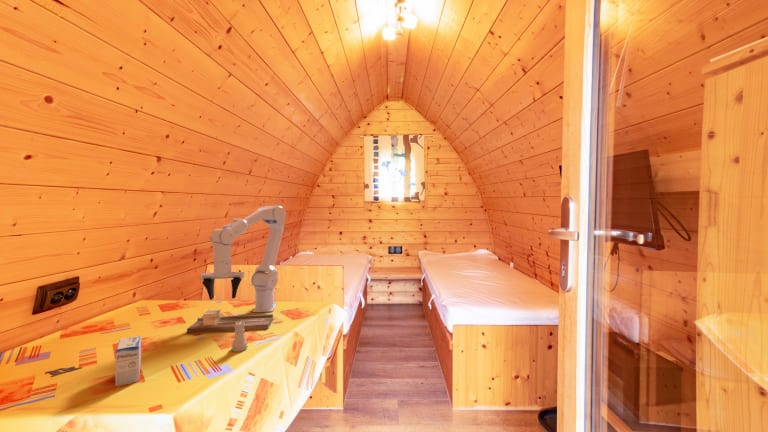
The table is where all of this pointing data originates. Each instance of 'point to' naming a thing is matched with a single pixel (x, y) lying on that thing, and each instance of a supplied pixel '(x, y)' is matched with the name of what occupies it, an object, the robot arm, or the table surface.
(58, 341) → the table surface
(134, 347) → the medicine box
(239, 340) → the rook chess piece
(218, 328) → the walnut board
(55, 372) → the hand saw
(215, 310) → the block
